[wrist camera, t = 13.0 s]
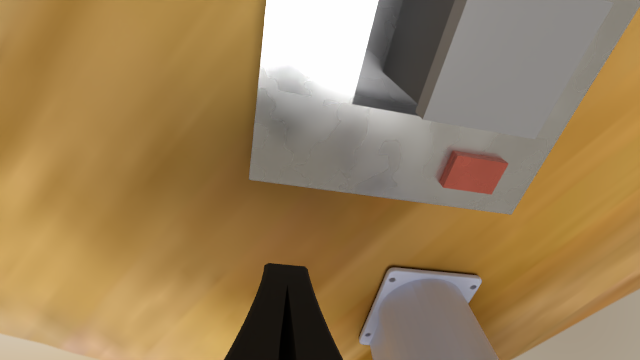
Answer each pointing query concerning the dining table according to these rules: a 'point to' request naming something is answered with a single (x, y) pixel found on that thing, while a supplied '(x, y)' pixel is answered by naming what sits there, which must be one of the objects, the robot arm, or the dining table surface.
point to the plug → (490, 58)
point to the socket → (388, 113)
